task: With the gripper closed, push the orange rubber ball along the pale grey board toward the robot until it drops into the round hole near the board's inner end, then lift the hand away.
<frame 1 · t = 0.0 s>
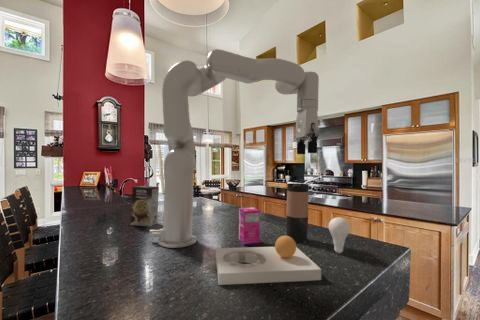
hand: (306, 153, 88), 31 cm above the worktop, tool pointing down, fingers open, 9 cm apart
ball: (285, 246, 63), point 5 cm above the worktop, touching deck
travel mug: (296, 240, 87), on the worktop
coffee box: (144, 224, 103), on the worktop
supplement box: (248, 243, 82), on the worktop
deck: (262, 267, 62), on the worktop
lightbulb: (338, 253, 74), on the worktop
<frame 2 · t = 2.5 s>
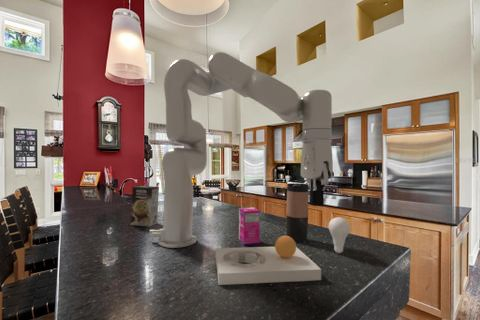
hand: (316, 205, 65), 16 cm above the worktop, tool pointing down, fingers closed
nothing on the worktop moved.
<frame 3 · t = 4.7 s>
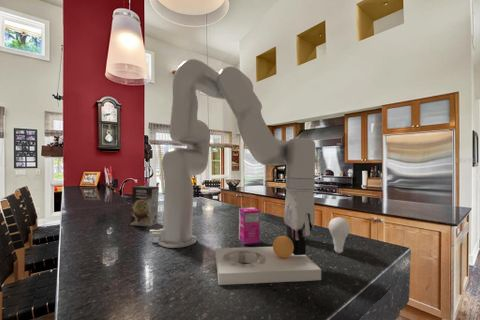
hand: (298, 253, 64), 3 cm above the worktop, tool pointing down, fingers closed
ball: (283, 246, 63), point 5 cm above the worktop, tilted 14°, touching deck
everything else where it was.
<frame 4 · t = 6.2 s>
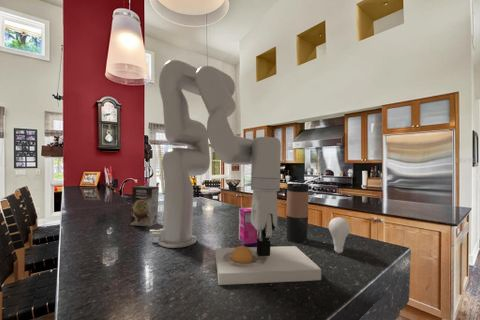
hand: (263, 254, 63), 3 cm above the worktop, tool pointing down, fingers closed
ball: (241, 257, 62), point 3 cm above the worktop, tilted 92°
everything else where it was.
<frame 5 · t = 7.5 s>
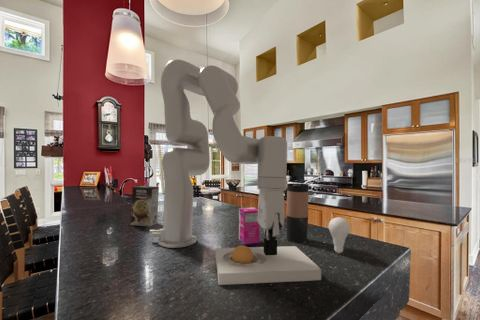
hand: (270, 253, 63), 3 cm above the worktop, tool pointing down, fingers closed
nothing on the worktop moved.
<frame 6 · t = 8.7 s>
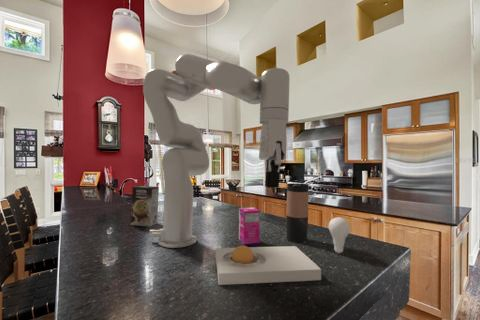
hand: (272, 187, 63), 21 cm above the worktop, tool pointing down, fingers closed
nothing on the worktop moved.
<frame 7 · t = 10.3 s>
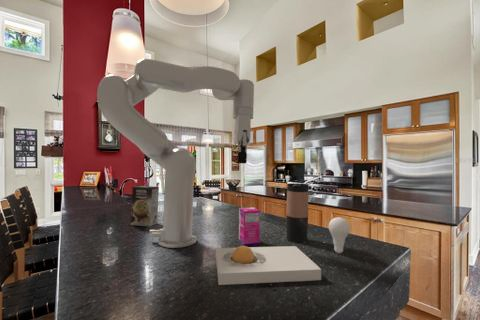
hand: (241, 163, 89), 27 cm above the worktop, tool pointing down, fingers closed
nothing on the worktop moved.
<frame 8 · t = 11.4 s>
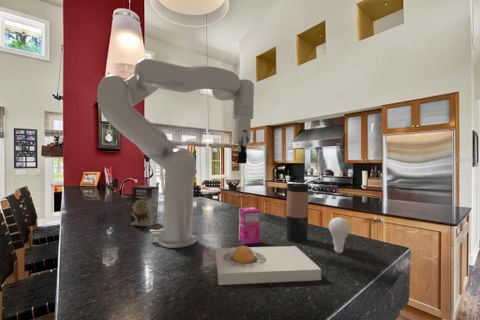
hand: (241, 163, 89), 27 cm above the worktop, tool pointing down, fingers closed
nothing on the worktop moved.
at the end: ball 0.2 cm from the target spot on the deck, point 2.7 cm above the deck's base; ball moved 11.5 cm from its start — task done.
